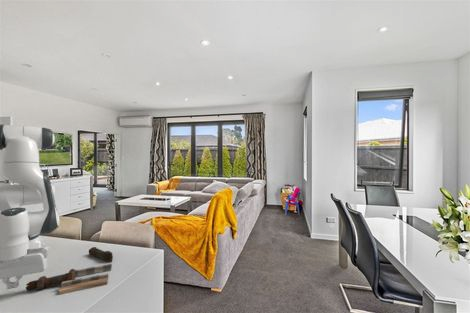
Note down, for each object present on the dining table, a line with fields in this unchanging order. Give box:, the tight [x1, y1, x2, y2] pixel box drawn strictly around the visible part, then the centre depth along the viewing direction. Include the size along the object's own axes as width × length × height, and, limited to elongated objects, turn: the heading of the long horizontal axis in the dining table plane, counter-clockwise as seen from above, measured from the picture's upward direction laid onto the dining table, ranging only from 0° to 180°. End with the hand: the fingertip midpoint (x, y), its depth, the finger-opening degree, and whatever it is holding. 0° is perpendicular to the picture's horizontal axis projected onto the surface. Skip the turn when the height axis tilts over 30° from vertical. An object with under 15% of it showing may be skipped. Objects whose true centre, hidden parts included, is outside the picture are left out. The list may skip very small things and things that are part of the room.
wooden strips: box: [58, 263, 113, 295], centre depth 92 cm, size 16×16×2 cm
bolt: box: [25, 268, 77, 291], centre depth 87 cm, size 6×5×15 cm
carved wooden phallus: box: [88, 246, 114, 263], centre depth 112 cm, size 19×4×5 cm, turn 57°
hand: (12, 287), depth 82 cm, fingers closed
